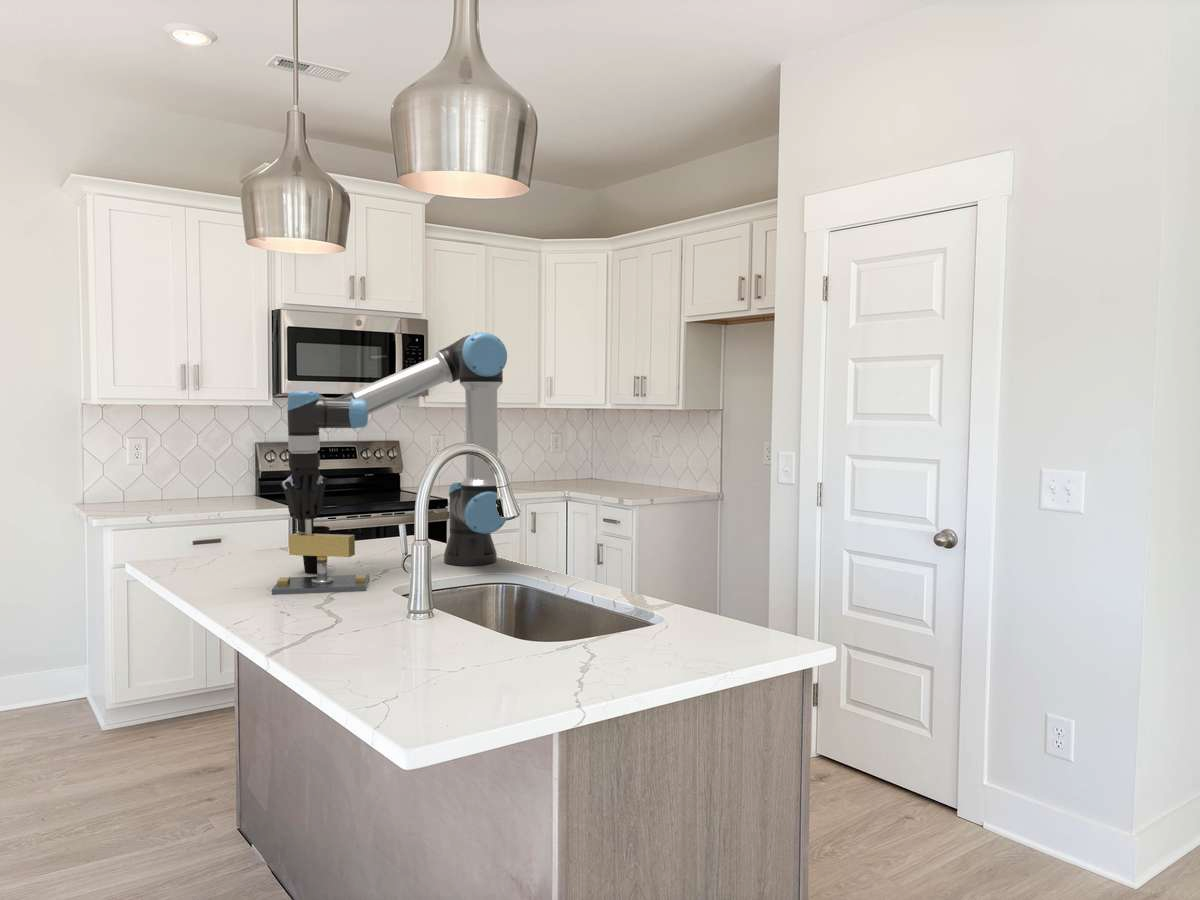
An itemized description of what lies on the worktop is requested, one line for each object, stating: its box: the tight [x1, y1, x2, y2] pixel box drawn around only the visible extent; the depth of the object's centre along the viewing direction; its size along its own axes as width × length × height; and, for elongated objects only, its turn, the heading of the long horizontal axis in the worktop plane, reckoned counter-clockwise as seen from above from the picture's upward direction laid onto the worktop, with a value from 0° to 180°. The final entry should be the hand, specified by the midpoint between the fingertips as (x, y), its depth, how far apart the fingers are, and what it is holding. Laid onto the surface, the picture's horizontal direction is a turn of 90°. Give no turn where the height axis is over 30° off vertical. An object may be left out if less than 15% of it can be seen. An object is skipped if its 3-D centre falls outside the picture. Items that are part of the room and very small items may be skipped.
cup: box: [302, 525, 331, 575], centre depth 238 cm, size 8×8×12 cm
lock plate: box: [271, 561, 371, 595], centre depth 221 cm, size 22×14×6 cm, turn 101°
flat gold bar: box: [288, 532, 356, 562], centre depth 220 cm, size 3×16×7 cm, turn 80°
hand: (305, 544), depth 224 cm, fingers closed
